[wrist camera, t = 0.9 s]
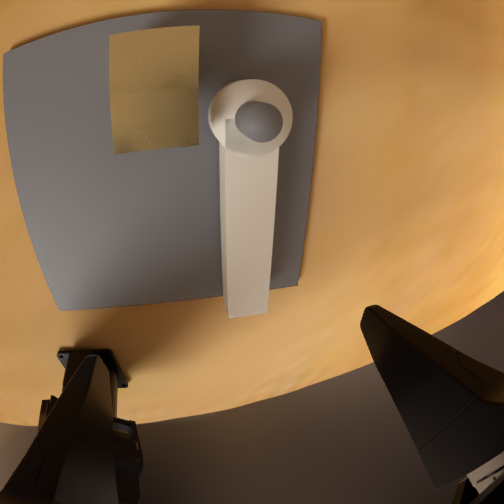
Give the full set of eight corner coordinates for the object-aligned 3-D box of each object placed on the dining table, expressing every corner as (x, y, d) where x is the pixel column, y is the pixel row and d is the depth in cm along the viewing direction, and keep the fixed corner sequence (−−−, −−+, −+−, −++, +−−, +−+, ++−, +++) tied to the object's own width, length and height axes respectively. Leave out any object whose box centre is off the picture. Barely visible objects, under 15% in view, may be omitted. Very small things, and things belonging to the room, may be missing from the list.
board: (295, 281, 25) (297, 285, 25) (61, 306, 21) (59, 311, 21) (317, 22, 14) (321, 21, 14) (7, 54, 10) (3, 53, 9)
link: (207, 80, 15) (216, 77, 11) (280, 81, 16) (308, 82, 12) (214, 299, 23) (223, 337, 20) (267, 292, 24) (283, 328, 21)
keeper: (193, 130, 17) (199, 145, 13) (131, 136, 16) (114, 154, 12) (193, 42, 14) (199, 25, 10) (128, 49, 13) (109, 35, 9)
